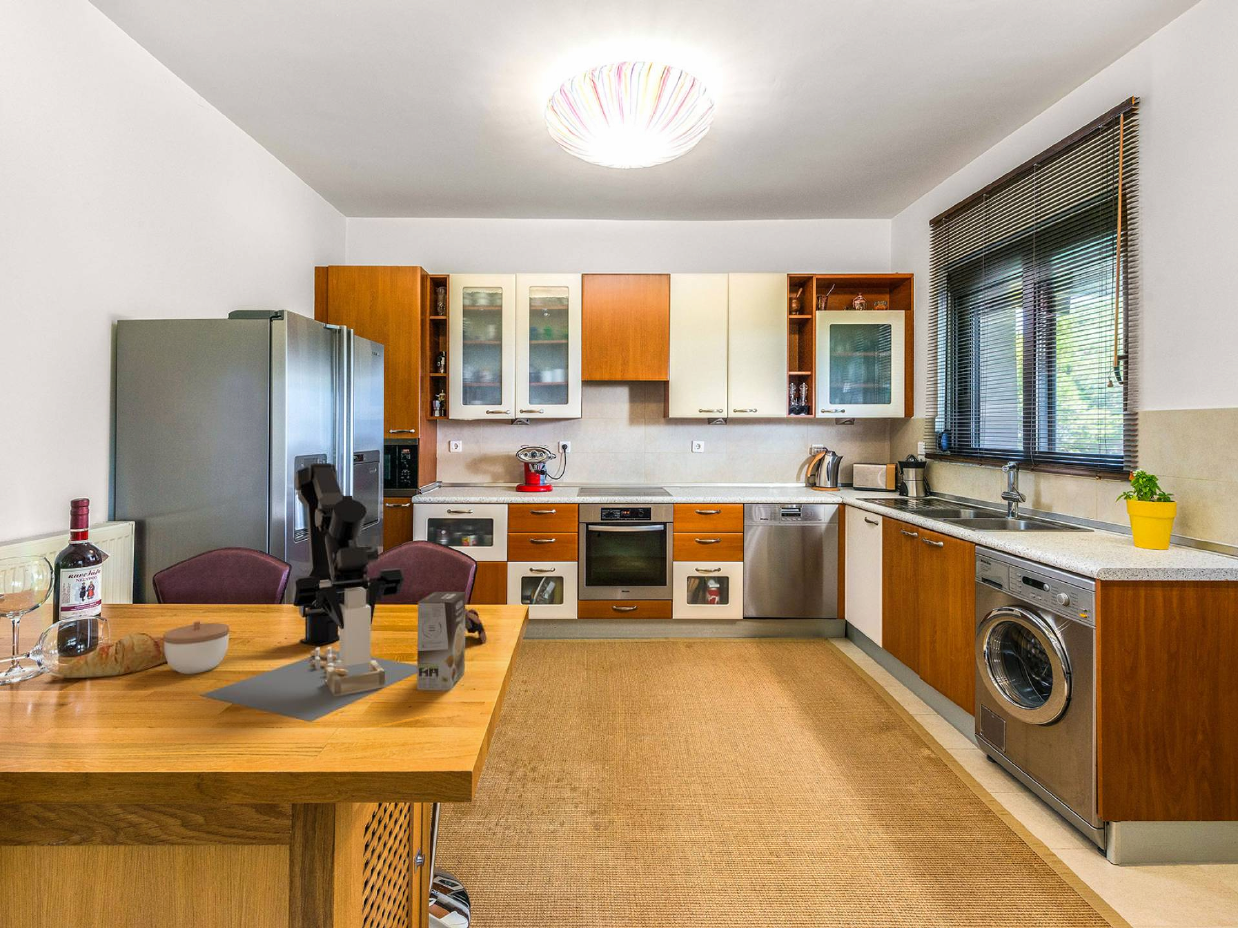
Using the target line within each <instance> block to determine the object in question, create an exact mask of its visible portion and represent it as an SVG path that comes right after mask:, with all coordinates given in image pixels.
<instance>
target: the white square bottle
mask: <svg viewBox="0 0 1238 928" xmlns="http://www.w3.org/2000/svg"><path fill="white" fill-rule="evenodd" d="M366 595H367V591H366V590H365V589H364V588H363V587H356V588H347V589H345V604H343V605H340V609H341V612H342V616H343V621H344V628H343V629H340V628H339V635H340V639H339V652H340V659H339V660H340V661H341V662H342V664H343V665H344V666H350V665H356V664H362V663H368V662H371V657H372V656H371V655H372V654H371V651H372V649H371V647H372V646H371V644H372V642H371V641H372V640H371V639H372V638H371V637H372V636H371V635H372V631H371V628H372V627H371V626H372V624H371V607H370V606H369V605H368V604H367V603H366Z"/></svg>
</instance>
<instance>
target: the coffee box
mask: <svg viewBox="0 0 1238 928" xmlns="http://www.w3.org/2000/svg"><path fill="white" fill-rule="evenodd" d="M465 609H466V591H433V592H432V593H430V594H428V595H427V596H425V597H423V598H422V599H420V600H417V648H416V649H417V658H416V659H417V662H416V663H417V664H416V665H417V673H416V675H417V677H416V679H417V681H416V690H418V691H452V690H453V688H454V687H455V686H456V685H457V684H458V682H459V681H460V680H461V679H462V678H463V676H464V675H465V674H466V673H465V672H466V671H465V668H466V667H465V666H466V629H465Z"/></svg>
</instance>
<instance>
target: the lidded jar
mask: <svg viewBox="0 0 1238 928" xmlns="http://www.w3.org/2000/svg"><path fill="white" fill-rule="evenodd" d="M229 633H230V626H229V625H228V624H225V623H219V622H217V623H215V622H209V623H208V622H206V623H201V621H199V620H198V621H194V622H193V624H188V625H184V626H180V627H176V628H175V627H174V628H171V629H169V630H168V631H165V632H164V633H163V635H162V638H163V640H164V652H165V657H166V660H167V662H166V663H167V664H168V665H169V667H171V668H172V670H174V671H175V672H177V673H179V674H185V675H186V674H187V675H188V674H189V675H193V674H198V673H199V674H200V673H203V672H207V671H210V670H213V669H214V668H216V667H217V666H218V665H219V664H220V663H221V662H222V661H223V659H224V658H225V655H226V654H227V651H228V647H229V641H230V640H229V637H230V636H229V635H230V634H229Z"/></svg>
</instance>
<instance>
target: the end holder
mask: <svg viewBox="0 0 1238 928" xmlns="http://www.w3.org/2000/svg"><path fill="white" fill-rule="evenodd" d="M326 683H327V685H328V686H329V688H330V690H331V691H332V693H333V694H334V696H339V695H345V694H350V693H355V692H361V691H366V690H371V689H376V688H382V687H385V671H384V670H383V669H382V667H381V666H380V665H379V664H378V663H377V662H376V661H375V660H372V661H371V662H369V672H368V673H362V674H356V675H351V676H345V677H339V676H338V674H337V673H336V671H335V670H334V668H333V667H330V668H327V680H326ZM385 688H386V687H385Z"/></svg>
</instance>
